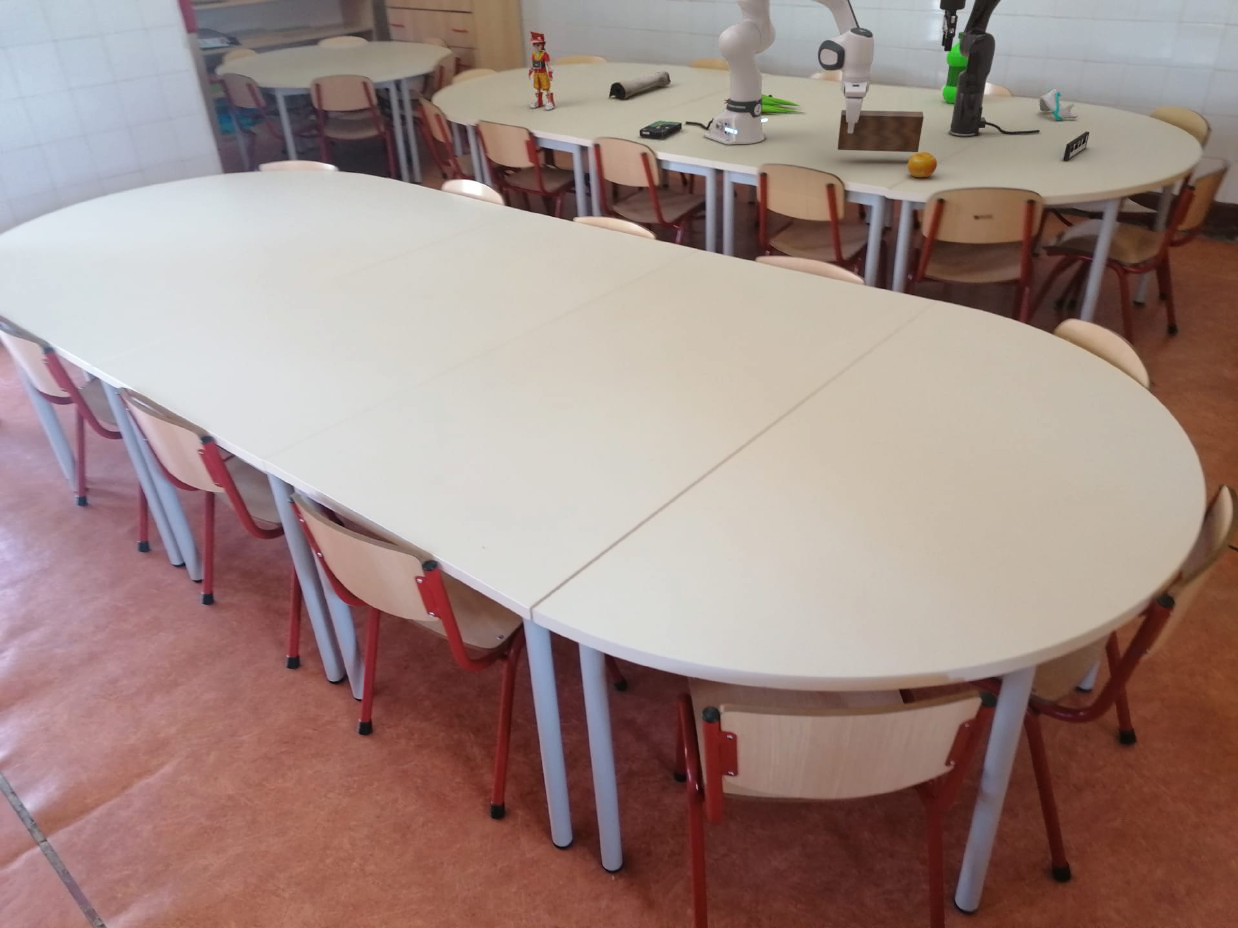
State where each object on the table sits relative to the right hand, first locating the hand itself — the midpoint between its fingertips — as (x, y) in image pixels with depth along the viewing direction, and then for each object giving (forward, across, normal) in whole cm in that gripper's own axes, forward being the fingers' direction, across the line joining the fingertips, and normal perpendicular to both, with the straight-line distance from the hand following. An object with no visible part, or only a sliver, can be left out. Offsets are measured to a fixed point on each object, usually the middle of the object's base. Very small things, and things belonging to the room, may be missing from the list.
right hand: (946, 48), depth 287 cm
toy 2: (+32, +54, +59) cm, 86 cm away
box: (+28, -14, +19) cm, 36 cm away
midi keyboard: (+32, -4, -44) cm, 55 cm away
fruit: (+32, -30, +6) cm, 44 cm away
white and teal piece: (+32, +44, -46) cm, 71 cm away
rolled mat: (+32, +87, +117) cm, 149 cm away
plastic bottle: (+32, +66, -14) cm, 74 cm away
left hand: (+22, -14, +28) cm, 38 cm away
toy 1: (+32, +60, +155) cm, 169 cm away
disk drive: (+32, +20, +97) cm, 104 cm away
